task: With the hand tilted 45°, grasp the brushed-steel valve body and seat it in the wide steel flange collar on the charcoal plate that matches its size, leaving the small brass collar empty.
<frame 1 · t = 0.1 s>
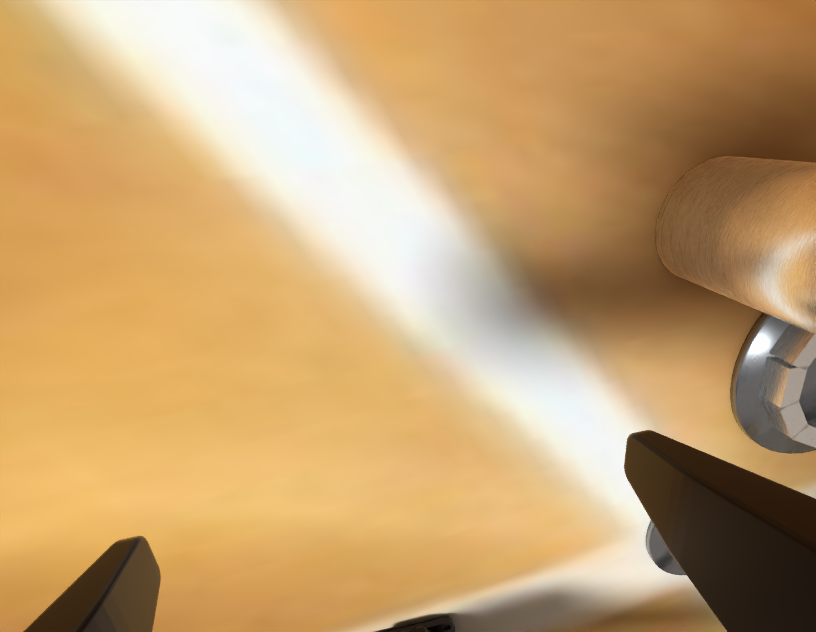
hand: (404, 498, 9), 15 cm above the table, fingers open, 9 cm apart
steel valve body: (711, 220, 24), on the table
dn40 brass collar: (704, 522, 33), on the table
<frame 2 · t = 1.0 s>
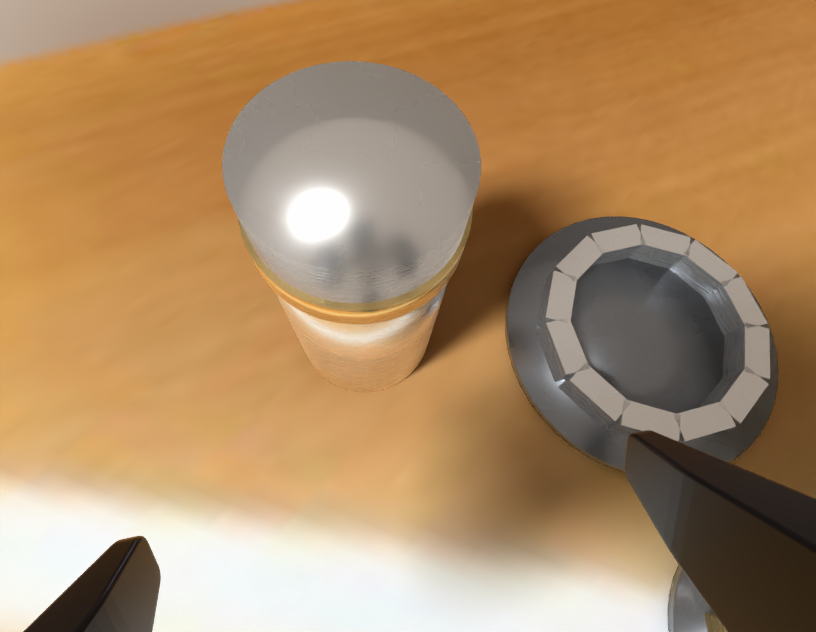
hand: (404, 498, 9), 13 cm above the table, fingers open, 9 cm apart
steel valve body: (366, 329, 24), on the table
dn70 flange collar: (637, 336, 25), on the table
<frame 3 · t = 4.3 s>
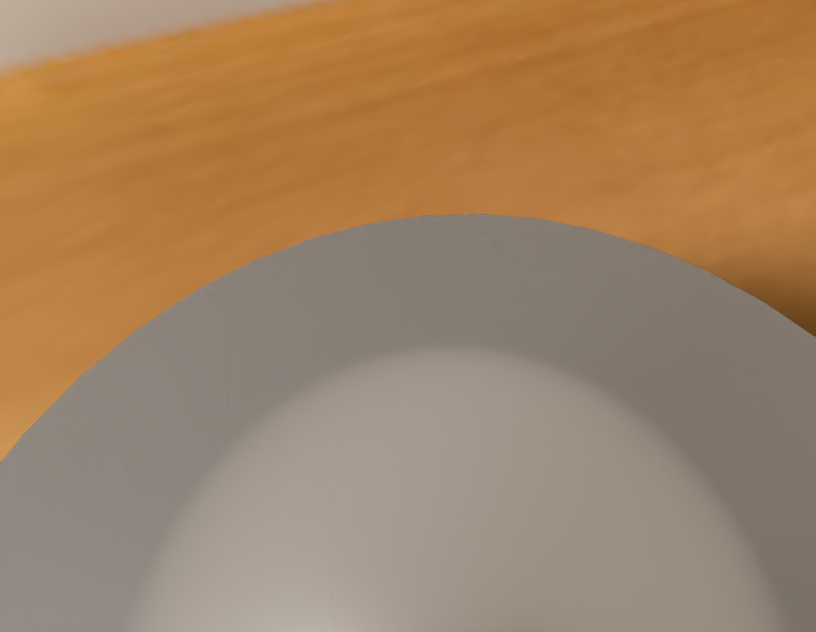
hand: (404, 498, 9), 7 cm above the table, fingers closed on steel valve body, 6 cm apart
steel valve body: (402, 550, 14), on the table, touching gripper
when the fingers open (8 cm above the table, at t = 8.6 s): steel valve body drops 1 cm, resting on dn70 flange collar.
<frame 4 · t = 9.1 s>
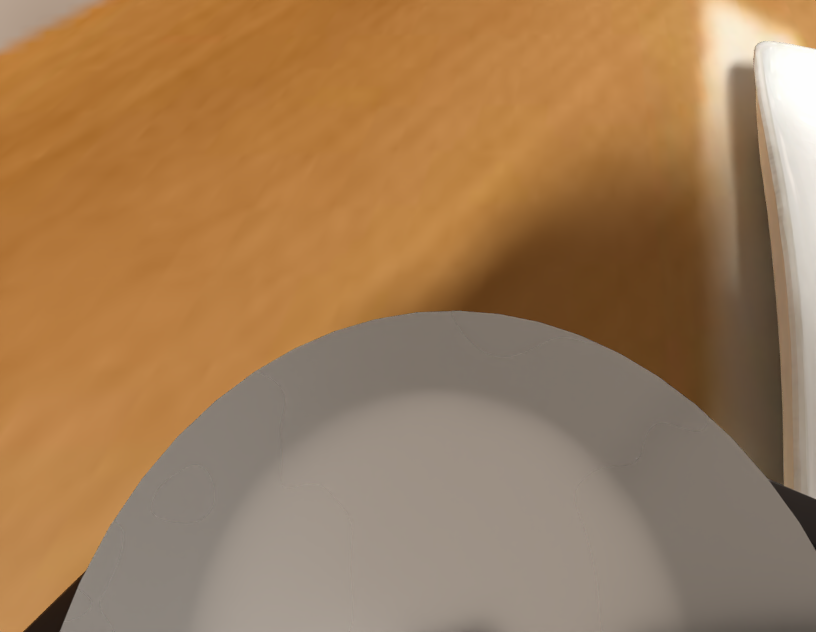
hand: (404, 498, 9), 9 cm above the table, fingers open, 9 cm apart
steel valve body: (400, 551, 16), point 1 cm above the table, touching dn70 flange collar
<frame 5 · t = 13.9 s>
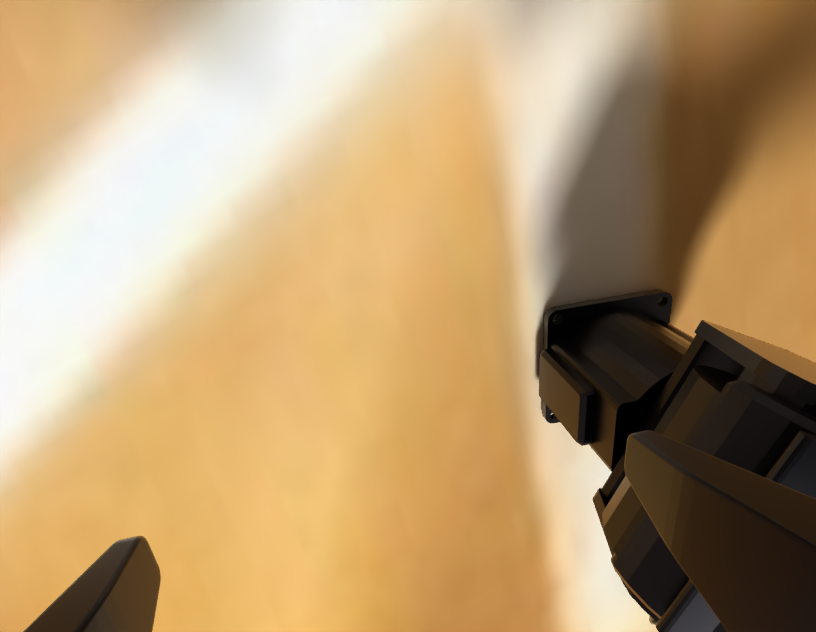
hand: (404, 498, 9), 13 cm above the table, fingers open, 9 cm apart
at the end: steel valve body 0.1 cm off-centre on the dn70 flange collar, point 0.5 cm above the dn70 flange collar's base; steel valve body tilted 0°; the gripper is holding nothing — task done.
